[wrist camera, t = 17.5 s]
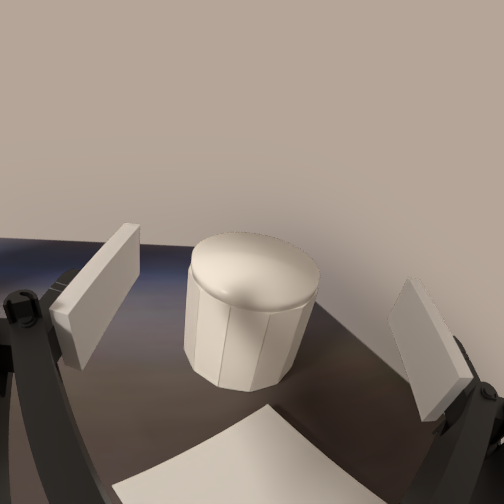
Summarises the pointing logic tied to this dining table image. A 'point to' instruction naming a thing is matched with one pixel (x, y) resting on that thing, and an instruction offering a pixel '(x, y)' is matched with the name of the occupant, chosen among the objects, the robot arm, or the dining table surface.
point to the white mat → (248, 470)
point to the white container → (247, 308)
